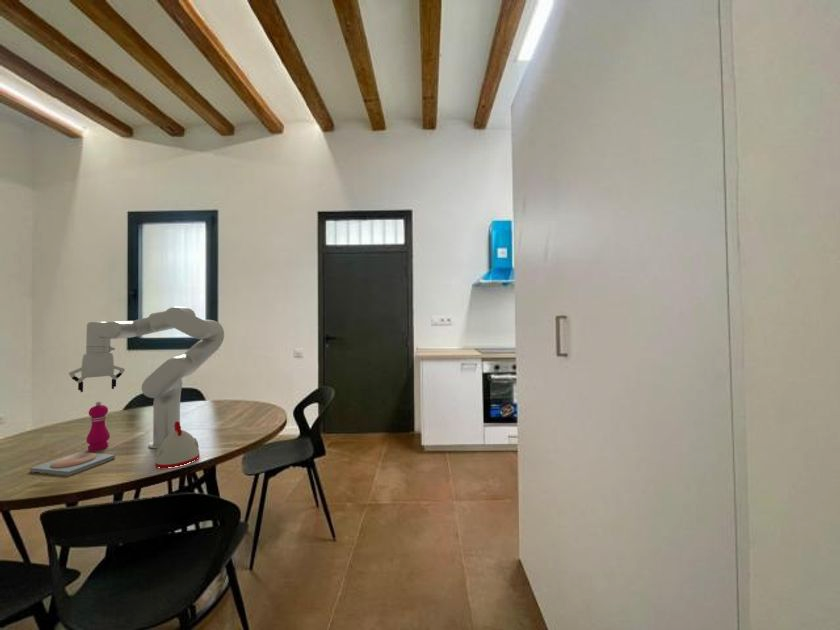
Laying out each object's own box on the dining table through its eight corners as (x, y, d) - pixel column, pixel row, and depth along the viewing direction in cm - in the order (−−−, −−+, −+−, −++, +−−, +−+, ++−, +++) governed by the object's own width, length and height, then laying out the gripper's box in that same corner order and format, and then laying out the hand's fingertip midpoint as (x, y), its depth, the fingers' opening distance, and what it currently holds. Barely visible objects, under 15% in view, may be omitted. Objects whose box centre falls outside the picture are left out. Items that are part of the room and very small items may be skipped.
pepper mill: (98, 451, 140) (98, 403, 140) (81, 451, 140) (81, 403, 140) (114, 445, 147) (114, 399, 147) (98, 445, 147) (98, 399, 148)
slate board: (114, 458, 133) (114, 453, 133) (68, 476, 118) (68, 470, 118) (79, 455, 136) (79, 450, 136) (29, 472, 121) (30, 466, 121)
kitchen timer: (194, 451, 140) (194, 415, 140) (203, 460, 130) (203, 422, 130) (152, 461, 130) (152, 422, 130) (158, 472, 120) (158, 430, 120)
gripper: (124, 348, 153) (123, 386, 153) (69, 350, 141) (69, 391, 141) (125, 349, 148) (124, 388, 147) (68, 352, 136) (67, 394, 135)
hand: (97, 390), depth 144 cm, fingers open, 9 cm apart
